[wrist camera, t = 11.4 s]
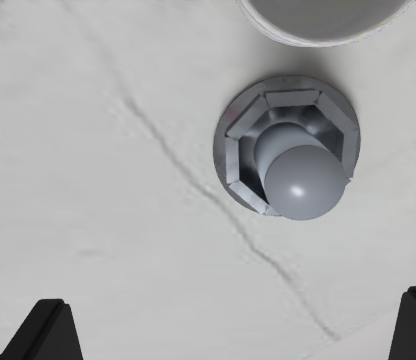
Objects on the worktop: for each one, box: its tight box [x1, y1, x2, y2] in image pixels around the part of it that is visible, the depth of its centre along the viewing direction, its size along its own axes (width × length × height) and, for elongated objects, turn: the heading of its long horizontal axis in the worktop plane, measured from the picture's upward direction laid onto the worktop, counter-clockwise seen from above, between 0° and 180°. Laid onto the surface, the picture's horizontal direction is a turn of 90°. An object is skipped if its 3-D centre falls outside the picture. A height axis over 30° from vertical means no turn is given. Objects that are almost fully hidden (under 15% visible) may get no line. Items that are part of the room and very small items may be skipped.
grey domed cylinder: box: [253, 122, 346, 220], centre depth 24 cm, size 5×5×7 cm
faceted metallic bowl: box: [213, 75, 361, 216], centre depth 26 cm, size 12×12×2 cm
